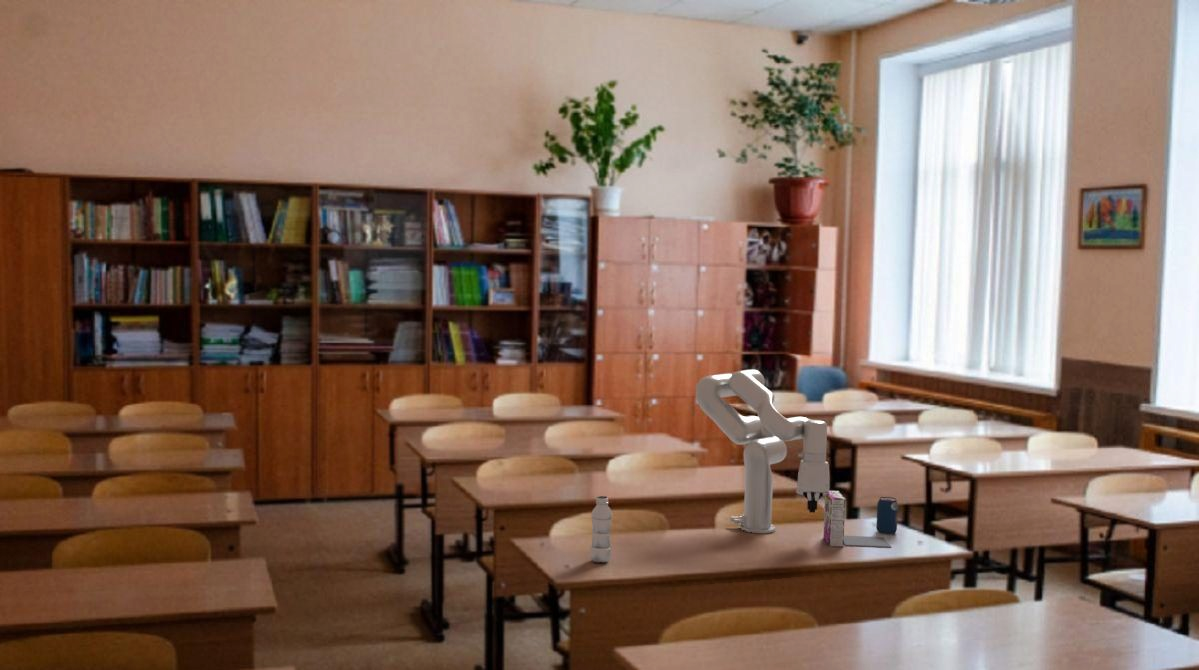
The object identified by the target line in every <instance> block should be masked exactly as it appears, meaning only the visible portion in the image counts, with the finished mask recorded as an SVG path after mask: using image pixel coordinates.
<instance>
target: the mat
mask: <svg viewBox="0 0 1199 670" xmlns="http://www.w3.org/2000/svg"><path fill="white" fill-rule="evenodd" d="M843 545H844V546H845V547H862V548H863V547H864V548H889V549H891V548H892V545H891V544H890V543H889V542H888V540H887V539H886V538H885V537H883V536H860V535H844V543H843Z"/></svg>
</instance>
